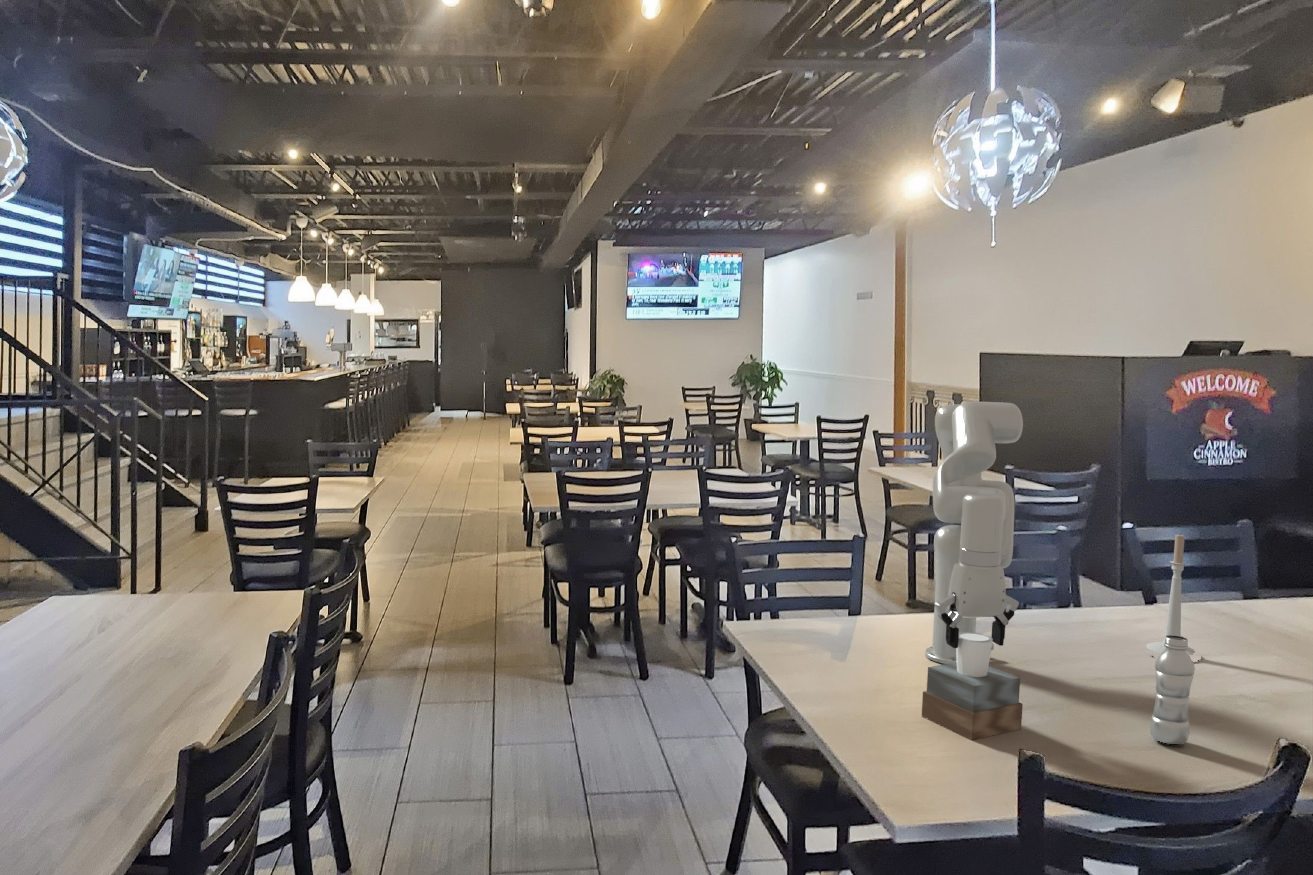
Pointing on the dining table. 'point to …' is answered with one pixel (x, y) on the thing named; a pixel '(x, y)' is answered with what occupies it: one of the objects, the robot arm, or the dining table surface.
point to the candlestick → (1174, 599)
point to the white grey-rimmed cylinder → (973, 654)
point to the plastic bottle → (1172, 692)
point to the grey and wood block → (972, 701)
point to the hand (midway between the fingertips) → (974, 644)
